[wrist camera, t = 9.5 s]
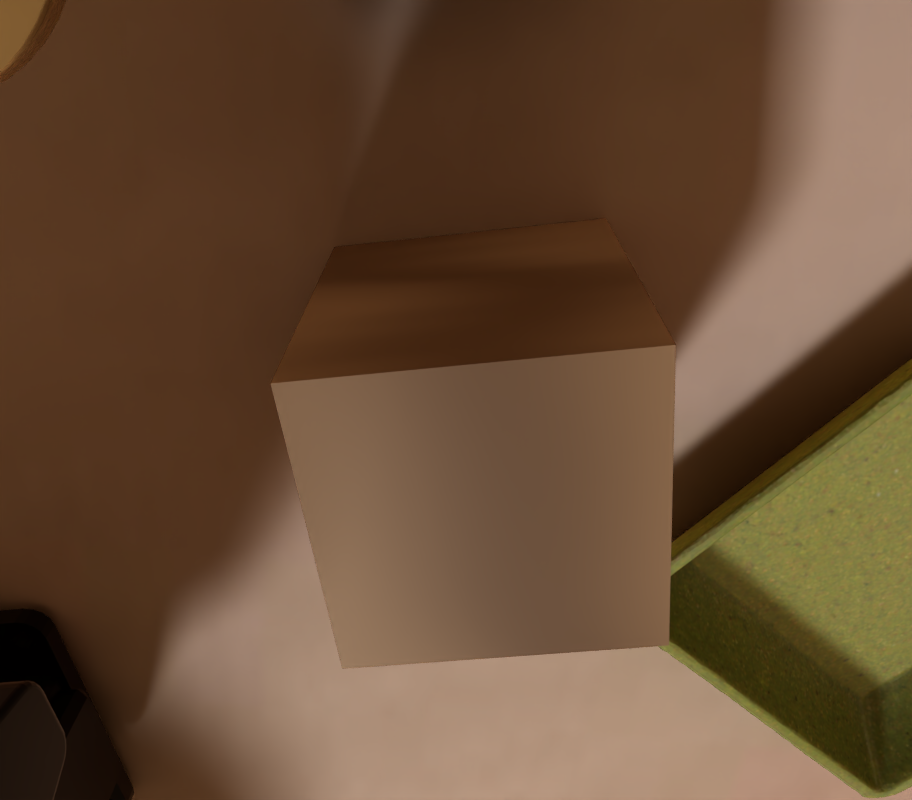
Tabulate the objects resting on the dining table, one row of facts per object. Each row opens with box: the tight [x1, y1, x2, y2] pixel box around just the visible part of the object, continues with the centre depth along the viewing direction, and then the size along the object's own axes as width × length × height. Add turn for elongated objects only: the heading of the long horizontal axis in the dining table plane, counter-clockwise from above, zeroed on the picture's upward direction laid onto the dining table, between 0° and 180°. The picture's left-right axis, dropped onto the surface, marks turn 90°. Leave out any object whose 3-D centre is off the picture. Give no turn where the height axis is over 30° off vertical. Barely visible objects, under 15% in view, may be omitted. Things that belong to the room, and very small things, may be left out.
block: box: [270, 218, 676, 669], centre depth 12 cm, size 4×4×5 cm
